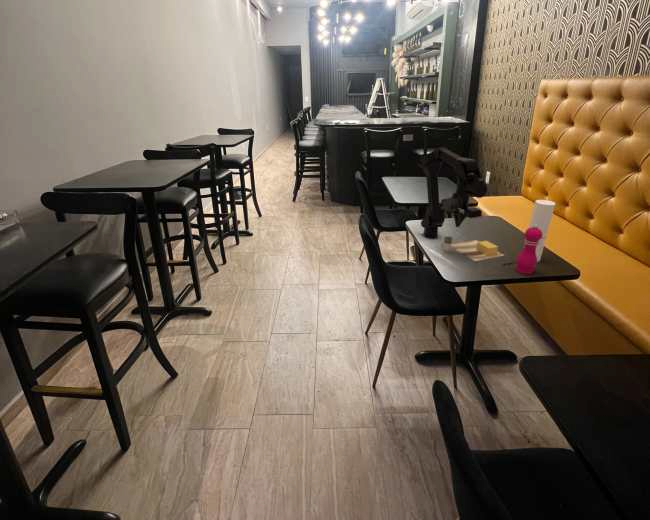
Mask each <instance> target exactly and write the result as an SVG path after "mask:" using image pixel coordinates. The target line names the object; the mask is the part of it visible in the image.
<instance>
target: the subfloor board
mask: <svg viewBox="0 0 650 520" xmlns="http://www.w3.org/2000/svg"><path fill="white" fill-rule="evenodd" d="M477 242H480V241H479V240H477V239H475V240H474V239H473V240H467V241H462V242H456V243H452V245H451V249H453V250H455V251H457V252H459V253H461V254H462V255H464V256H465V257H467V258H468V259H470V260H472V261H474V262H476V261H477V262H478V261H482V260H483V261H484V260H487V259H488V260H489V259H493V258H497V257H502V256H503V257H504V256H505V254H504V253H501V252H499V251H498V250H497V254H494V255H489V256H487V255H485V254H483V253H481V252H479V251H478V250H476V247H477Z"/></svg>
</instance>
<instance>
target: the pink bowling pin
mask: <svg viewBox="0 0 650 520" xmlns="http://www.w3.org/2000/svg"><path fill="white" fill-rule="evenodd" d="M524 236H525V238H524V246H525V247H523V248H522V251H520V253H519V254H518V256H517V258H516V263H517V264H516V267H515V270H516V272H518V273H520V274H522V275H523V274H524V275H531V274H533V273H534V267H536V265H537V264H538V262H537V257H536V247H537V245H538V244H539V240H540V239H541V238H542V231H541V230H540V229H538V225H537V224H534V225H533V227H531V228H529V227H528V228H527V229H526V230H525V232H524Z"/></svg>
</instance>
